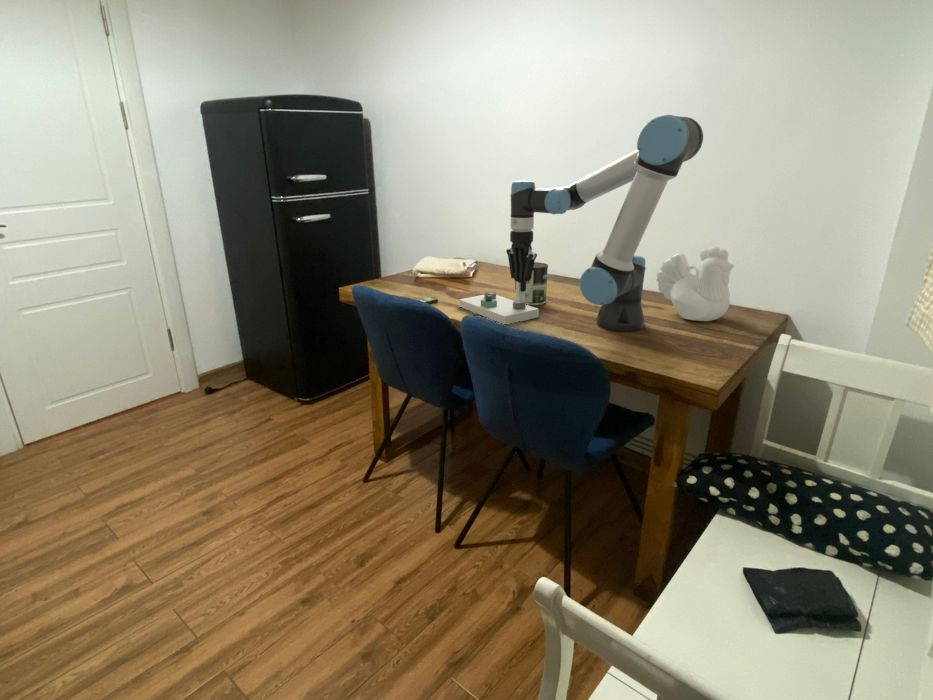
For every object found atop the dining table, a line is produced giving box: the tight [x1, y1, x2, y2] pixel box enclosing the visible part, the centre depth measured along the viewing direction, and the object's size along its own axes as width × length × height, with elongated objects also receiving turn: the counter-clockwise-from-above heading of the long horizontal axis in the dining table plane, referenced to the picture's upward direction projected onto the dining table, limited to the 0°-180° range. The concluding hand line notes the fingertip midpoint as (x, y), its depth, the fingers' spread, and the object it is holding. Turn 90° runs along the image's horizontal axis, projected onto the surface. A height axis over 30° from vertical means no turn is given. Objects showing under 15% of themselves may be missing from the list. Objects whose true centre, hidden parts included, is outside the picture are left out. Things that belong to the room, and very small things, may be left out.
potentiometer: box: [481, 295, 497, 308], centre depth 189 cm, size 4×4×4 cm
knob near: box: [513, 300, 526, 309], centre depth 188 cm, size 4×4×5 cm
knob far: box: [483, 291, 497, 299], centre depth 200 cm, size 4×4×5 cm
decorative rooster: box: [656, 246, 735, 322], centre depth 184 cm, size 25×16×25 cm, turn 31°
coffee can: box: [521, 261, 549, 306], centre depth 203 cm, size 10×10×14 cm
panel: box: [458, 294, 540, 325], centre depth 192 cm, size 26×15×3 cm, turn 36°
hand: (520, 299), depth 186 cm, fingers closed
